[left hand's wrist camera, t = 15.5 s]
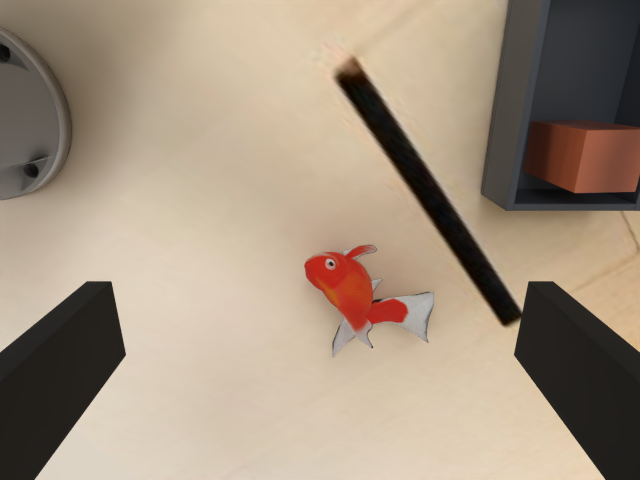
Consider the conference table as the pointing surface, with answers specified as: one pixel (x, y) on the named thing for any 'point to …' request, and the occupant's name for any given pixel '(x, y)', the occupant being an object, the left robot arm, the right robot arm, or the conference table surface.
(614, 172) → the block
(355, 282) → the fish
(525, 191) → the tray
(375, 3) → the conference table surface
